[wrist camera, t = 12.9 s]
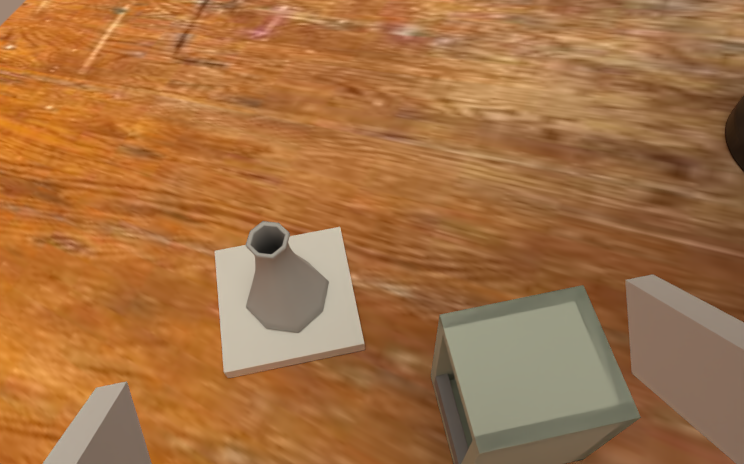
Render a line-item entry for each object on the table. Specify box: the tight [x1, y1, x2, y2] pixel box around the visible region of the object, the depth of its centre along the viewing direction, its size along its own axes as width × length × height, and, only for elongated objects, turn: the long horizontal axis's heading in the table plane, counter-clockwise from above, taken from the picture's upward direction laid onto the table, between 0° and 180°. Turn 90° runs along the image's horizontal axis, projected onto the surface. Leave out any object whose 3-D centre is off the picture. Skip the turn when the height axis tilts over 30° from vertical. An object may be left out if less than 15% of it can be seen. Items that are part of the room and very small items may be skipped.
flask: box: [246, 221, 329, 333], centre depth 49 cm, size 7×7×10 cm
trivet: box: [215, 227, 365, 378], centre depth 54 cm, size 12×12×2 cm
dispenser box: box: [431, 285, 641, 464], centre depth 43 cm, size 10×9×13 cm
